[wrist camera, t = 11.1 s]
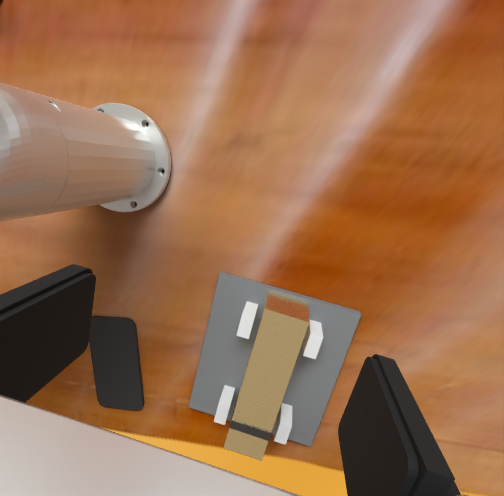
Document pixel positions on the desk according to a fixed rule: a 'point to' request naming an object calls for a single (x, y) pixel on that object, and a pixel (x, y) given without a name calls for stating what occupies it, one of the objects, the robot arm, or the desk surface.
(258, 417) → the tan long bar
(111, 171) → the robot arm
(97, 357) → the phone
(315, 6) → the desk surface
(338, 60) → the desk surface
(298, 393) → the peg plate
